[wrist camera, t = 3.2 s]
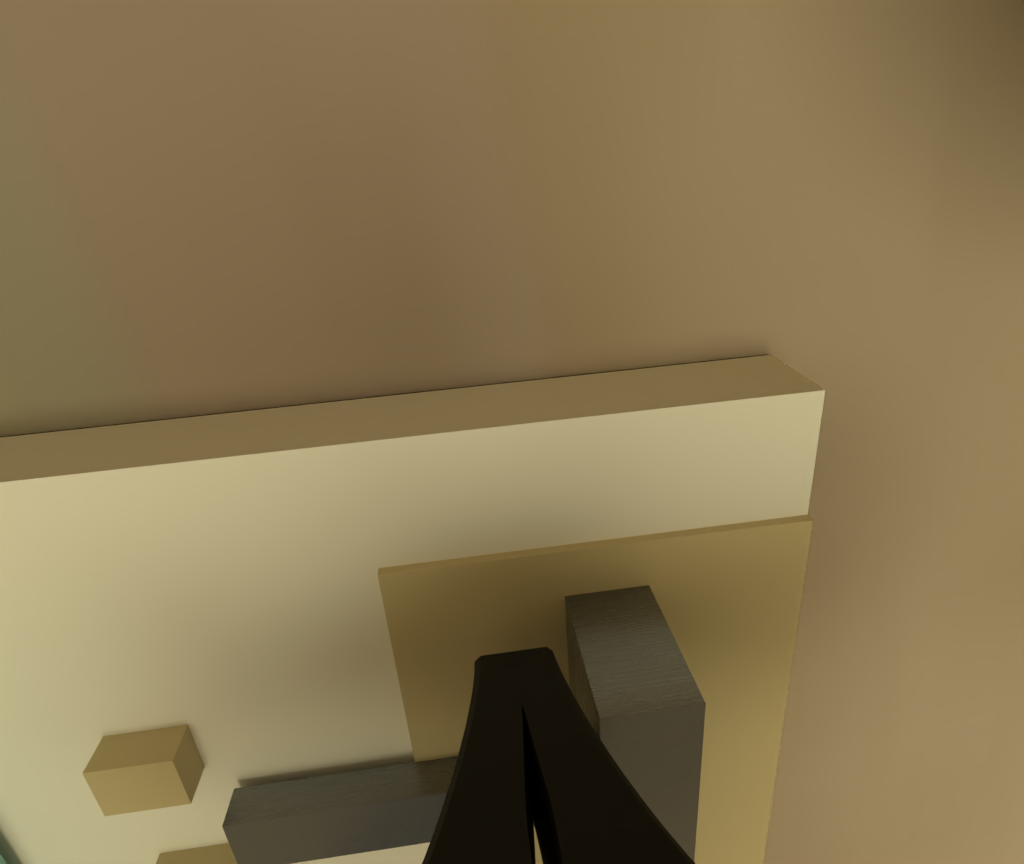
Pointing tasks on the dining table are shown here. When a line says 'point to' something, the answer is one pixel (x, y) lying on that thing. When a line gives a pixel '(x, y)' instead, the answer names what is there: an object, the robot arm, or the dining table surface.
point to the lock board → (381, 591)
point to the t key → (423, 785)
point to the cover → (2, 860)
